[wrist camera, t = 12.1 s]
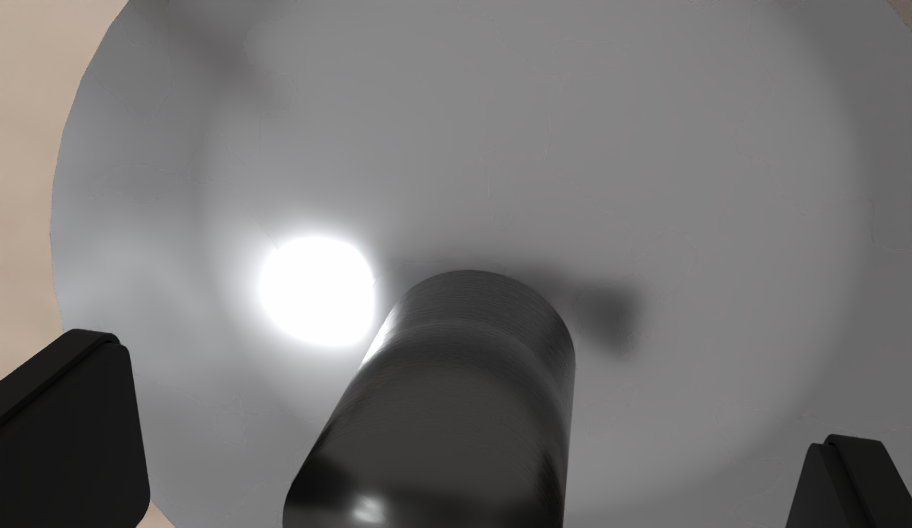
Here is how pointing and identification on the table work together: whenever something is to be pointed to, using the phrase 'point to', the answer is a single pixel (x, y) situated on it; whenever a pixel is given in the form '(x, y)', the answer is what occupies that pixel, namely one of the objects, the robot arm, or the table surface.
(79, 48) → the table surface
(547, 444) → the lid
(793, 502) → the robot arm
